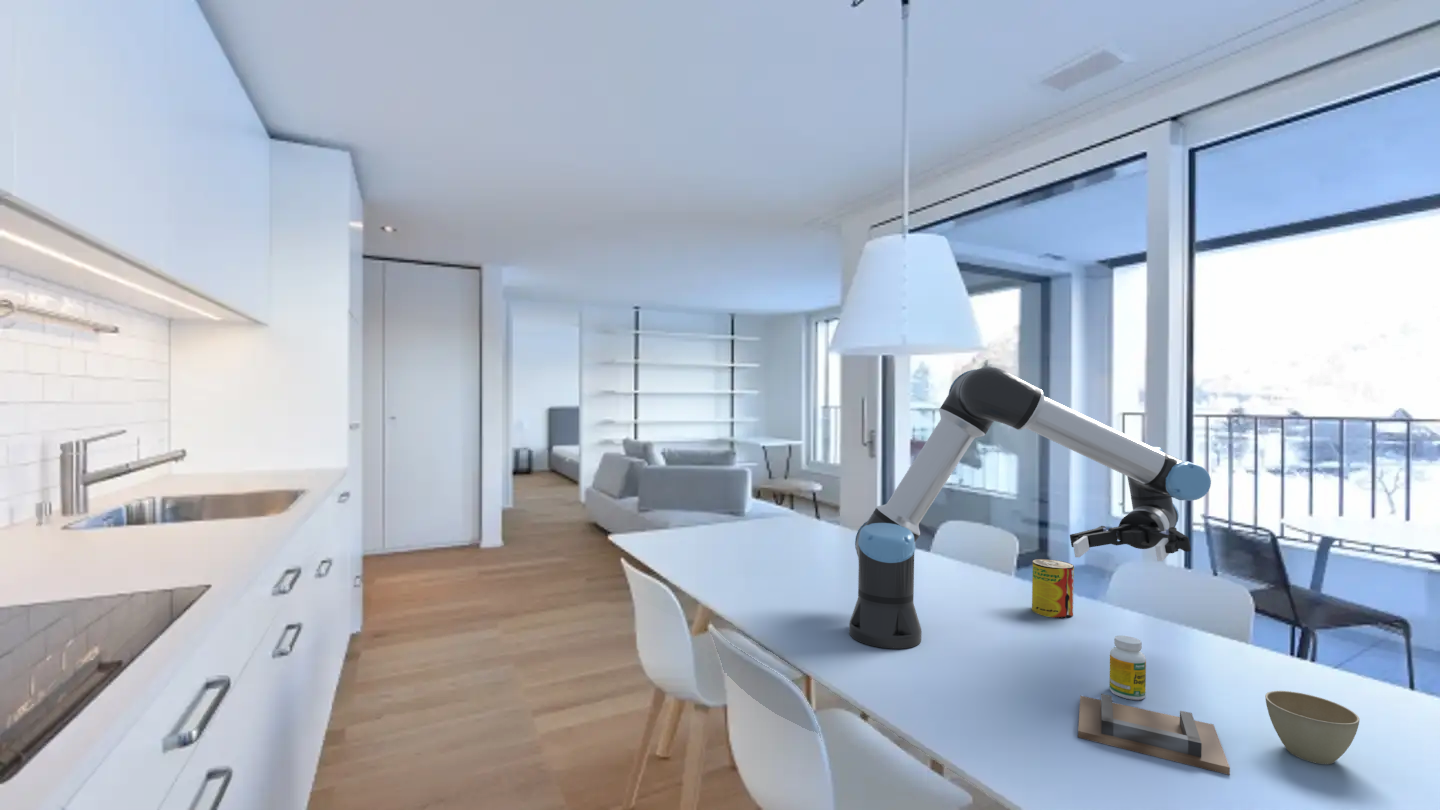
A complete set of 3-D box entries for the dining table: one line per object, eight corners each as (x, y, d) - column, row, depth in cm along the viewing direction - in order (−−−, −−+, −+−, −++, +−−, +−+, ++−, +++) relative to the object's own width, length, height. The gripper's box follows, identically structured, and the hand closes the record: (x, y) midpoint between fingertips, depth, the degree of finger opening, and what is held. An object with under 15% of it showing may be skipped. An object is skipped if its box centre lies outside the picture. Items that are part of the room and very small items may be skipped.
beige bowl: (1246, 738, 96) (1247, 691, 96) (1306, 736, 97) (1307, 689, 97) (1313, 776, 86) (1314, 723, 86) (1379, 774, 87) (1380, 722, 87)
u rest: (1078, 737, 95) (1078, 717, 95) (1080, 701, 107) (1080, 683, 107) (1229, 774, 86) (1230, 752, 86) (1213, 730, 98) (1213, 711, 98)
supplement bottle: (1118, 684, 114) (1119, 631, 114) (1151, 696, 110) (1152, 641, 110) (1103, 691, 111) (1104, 637, 111) (1136, 703, 107) (1137, 647, 107)
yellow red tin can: (1050, 619, 150) (1051, 568, 150) (1023, 607, 159) (1024, 559, 159) (1081, 617, 152) (1082, 567, 152) (1053, 605, 161) (1054, 558, 161)
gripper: (1221, 547, 124) (1201, 576, 109) (1081, 543, 142) (1048, 567, 127) (1214, 509, 124) (1193, 533, 109) (1076, 510, 142) (1042, 530, 127)
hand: (1115, 552), depth 118 cm, fingers open, 13 cm apart
